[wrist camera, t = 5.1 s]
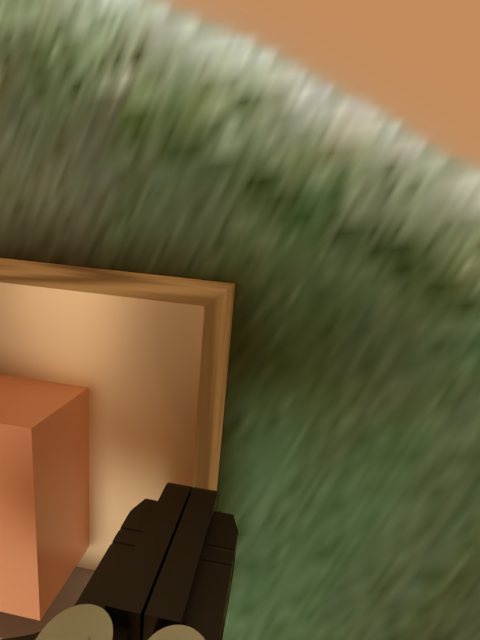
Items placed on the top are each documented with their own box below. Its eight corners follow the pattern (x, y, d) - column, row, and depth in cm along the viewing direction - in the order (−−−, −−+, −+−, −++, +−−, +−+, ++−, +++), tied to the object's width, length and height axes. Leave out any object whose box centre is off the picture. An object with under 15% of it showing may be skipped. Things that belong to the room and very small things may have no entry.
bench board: (235, 283, 16) (204, 306, 10) (205, 614, 20) (171, 766, 14) (-7, 257, 17) (-162, 263, 11) (13, 572, 21) (-91, 696, 15)
